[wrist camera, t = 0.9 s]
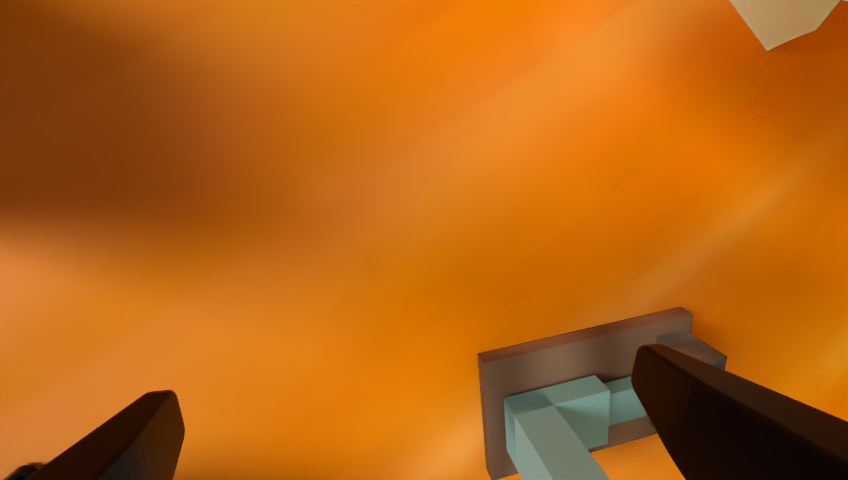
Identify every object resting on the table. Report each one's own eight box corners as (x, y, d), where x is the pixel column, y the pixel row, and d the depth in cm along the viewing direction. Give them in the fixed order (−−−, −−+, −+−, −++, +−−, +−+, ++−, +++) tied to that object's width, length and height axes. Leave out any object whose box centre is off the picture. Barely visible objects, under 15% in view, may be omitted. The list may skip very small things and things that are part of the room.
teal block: (506, 450, 27) (590, 609, 18) (503, 398, 25) (592, 544, 17) (634, 415, 28) (765, 547, 20) (637, 364, 27) (779, 482, 19)
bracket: (486, 468, 29) (511, 525, 25) (477, 353, 26) (504, 398, 22) (669, 417, 31) (717, 461, 27) (680, 307, 28) (736, 339, 24)
